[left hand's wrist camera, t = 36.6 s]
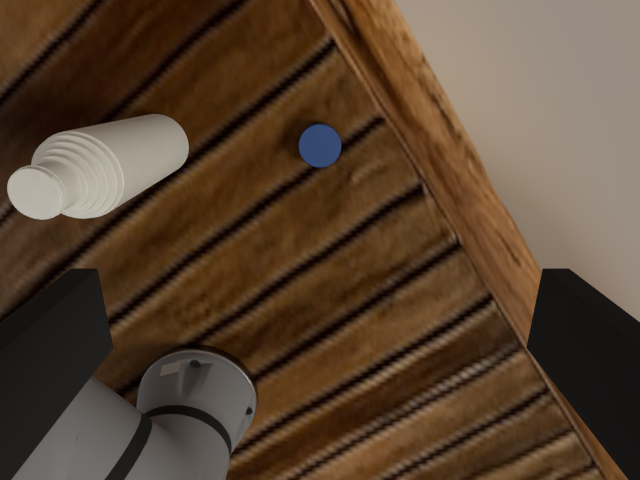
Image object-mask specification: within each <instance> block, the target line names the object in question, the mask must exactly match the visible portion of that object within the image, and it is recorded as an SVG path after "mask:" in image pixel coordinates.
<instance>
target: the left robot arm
mask: <svg viewBox="0 0 640 480" xmlns="http://www.w3.org/2000/svg"><path fill="white" fill-rule="evenodd" d="M112 349H113V343H112V338H111V334H110V329H109V324H108V319H107V314H106V309H105V304H104V299H103V295H102V290H101V285H100V280H99V275H98V270H97V269H70V270H69V271H67V272H66V273H65V274H63V275H62V276H61V277H60V278H58V279H57V280H56V281H54V282H53V283H52V284H50V285H49V286H48V287H46V288H45V289H44V290H42V291H41V292H40V293H38V294H37V295H36V296H34V297H33V298H32V299H30V300H29V301H28V302H26V303H25V304H24V305H23V306H21V307H20V308H19V309H17V310H16V311H15V312H13V313H12V314H11V315H9V316H8V317H7V318H5V319H4V320H3V321H1V322H0V480H225V478H226V474H227V470H228V465H229V461H230V456H231V453H232V451H233V450H234V448H235V447H236V445H237V444H238V443H239V441H240V440H241V438H242V437H243V435H244V434H245V432H246V431H247V429H248V428H249V426H250V424H251V422H252V420H253V418H254V415H255V411H256V407H257V401H258V392H257V387H256V383H255V381H254V379H253V377H252V375H251V373H250V372H249V371H248V369H247V368H246V367H245V366H244V365H243V364H242V363H241V362H240V361H239V360H237V359H236V358H234V357H233V356H231V355H229V354H228V353H225V352H223V351H221V350H218V349H215V348H211V347H206V346H184V347H179V348H175V349H172V350H170V351H167V352H166V353H164V354H162V355H161V356H159V357H158V358H157V359H156V360H154V362H153V363H152V364H151V365H150V366H149V368H148V370H147V371H146V373H145V375H144V376H143V378H142V381H141V383H140V387H139V390H138V397H137V406H136V408H135V407H134V406H133V405H131V404H130V403H129V402H127V401H126V400H125V399H123V398H122V397H121V396H119V395H118V394H117V393H115V392H114V391H113V390H111V389H110V388H109V387H108V386H106V385H105V384H104V383H102V382H101V381H100V380H98V379H97V378H96V377H94V376H93V374H94V372H95V371H96V370H97V368H98V367H99V366H100V364H101V363H102V362H103V361H104V359H105V358H106V357H107V355H108V354H109V353H110V352H111V350H112ZM527 349H528V350H529V352H530V353H531V354H532V355H533V357H534V358H535V359H536V361H537V362H538V363H539V364H540V366H541V367H542V368H543V370H544V371H545V372H546V374H547V375H548V376H549V377H550V379H551V380H552V381H553V383H554V384H555V385H556V386H557V388H558V389H559V390H560V392H561V393H562V394H563V396H564V397H565V398H566V399H567V401H568V402H569V403H570V405H571V406H572V407H573V408H574V410H575V411H576V412H577V414H578V415H579V416H580V418H581V419H582V420H583V421H584V423H585V424H586V425H587V427H588V428H589V429H590V430H591V432H592V433H593V434H594V436H595V437H596V438H597V440H598V441H599V442H600V443H601V445H602V446H603V447H604V449H605V450H606V451H607V452H608V454H609V455H610V456H611V458H612V459H613V460H614V462H615V463H616V464H617V465H618V467H619V468H620V469H621V471H622V472H623V473H624V474H625V476H626V477H627V478H628V480H640V322H639V321H637V320H636V319H635V318H633V317H632V316H631V315H629V314H628V313H627V312H625V311H624V310H623V309H621V308H620V307H619V306H617V305H616V304H615V303H614V302H612V301H611V300H610V299H608V298H607V297H606V296H604V295H603V294H602V293H600V292H599V291H598V290H596V289H595V288H594V287H592V286H591V285H590V284H588V283H587V282H586V281H584V280H583V279H582V278H580V277H579V276H578V275H577V274H575V273H574V272H573V271H571V270H570V269H543V270H542V275H541V280H540V285H539V290H538V295H537V299H536V304H535V309H534V314H533V319H532V324H531V329H530V334H529V338H528V343H527Z"/></svg>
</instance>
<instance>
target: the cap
mask: <svg viewBox="0 0 640 480" xmlns="http://www.w3.org/2000/svg"><path fill="white" fill-rule="evenodd" d="M298 147H299V152H300V154H301V156H302V158H303V159H304V160H305V161H306V162H307V163H308V164H309V165H312V166H314V167H326V166H328V165H330V164H332V163H333V162H334V161H335V160H336V159H337V158H338V156H339V154H340V150H341V139H340V138H339V134H338V133H337V131H335V129H334V128H332V127H331V126H330V125H327V124H326V123H325V124H324V123H316V124H312V125H310V126H308V127H307V128H306V129H305V130H304V132H302V135H301V136H300V140H299V146H298Z"/></svg>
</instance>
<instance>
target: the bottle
mask: <svg viewBox="0 0 640 480" xmlns="http://www.w3.org/2000/svg"><path fill="white" fill-rule="evenodd" d="M188 150H189V146H188V140H187V137H186V134H185V132H184V131H183V129H182V128H181V126H180V125H179V124H178V123H177V122H176V121H174V120H173V119H171V118H169V117H167V116H165V115H161V114H149V115H144V116H139V117H134V118H129V119H124V120H119V121H114V122H109V123H104V124H99V125H94V126H89V127H84V128H79V129H74V130H69V131H64V132H60V133H57V134H54V135H52V136H51V137H49V138H48V139H46V140H45V141H44V142H43V143H42V144H41V145H40V146H39V147H38V148H37V150H36V151H35V153H34V155H33V158H32V163H31V165H28V166H25V167H22V168H20V169H18V170H17V171H16V172H15V173H13V174H12V176H11V177H10V179H9V181H8V185H7V191H8V196H9V198H10V200H11V202H12V204H13V205H14V206H15V207H16V208H17V209H18V210H19V211H20V212H21V213H23V214H24V215H26V216H28V217H31V218H35V219H50V218H53V217H55V216H56V215H59V214H60V213H62V214H64V215H67V216H70V217H74V218H94V217H99V216H102V215H105V214H107V213H108V212H110V211H112V210H113V209H115V208H117V207H118V206H120V205H121V204H123V203H125V202H126V201H128V200H129V199H131V198H133V197H134V196H136V195H137V194H139V193H141V192H142V191H144V190H145V189H147V188H149V187H150V186H152V185H153V184H155V183H157V182H158V181H160V180H161V179H163V178H165V177H166V176H168V175H169V174H171V173H173V172H174V171H176V170H177V169H179V168H180V167H181V166H182V165H183V164H184V162H185V161H186V159H187V156H188Z"/></svg>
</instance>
